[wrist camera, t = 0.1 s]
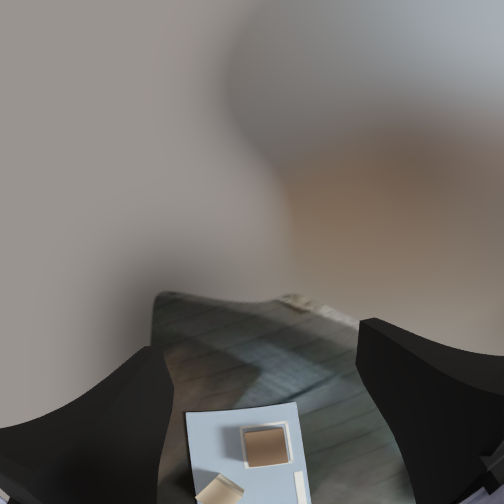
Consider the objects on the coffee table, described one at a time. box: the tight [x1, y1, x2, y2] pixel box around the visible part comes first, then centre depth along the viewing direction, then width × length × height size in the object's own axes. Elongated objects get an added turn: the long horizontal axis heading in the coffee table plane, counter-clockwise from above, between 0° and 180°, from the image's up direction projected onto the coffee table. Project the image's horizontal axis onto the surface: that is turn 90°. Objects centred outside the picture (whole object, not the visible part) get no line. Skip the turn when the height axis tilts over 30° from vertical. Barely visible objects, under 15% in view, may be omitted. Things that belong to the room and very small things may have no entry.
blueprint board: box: [186, 402, 311, 504], centre depth 29 cm, size 20×16×1 cm
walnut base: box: [244, 427, 289, 467], centre depth 30 cm, size 5×5×4 cm
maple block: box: [195, 473, 245, 504], centre depth 26 cm, size 4×4×4 cm
